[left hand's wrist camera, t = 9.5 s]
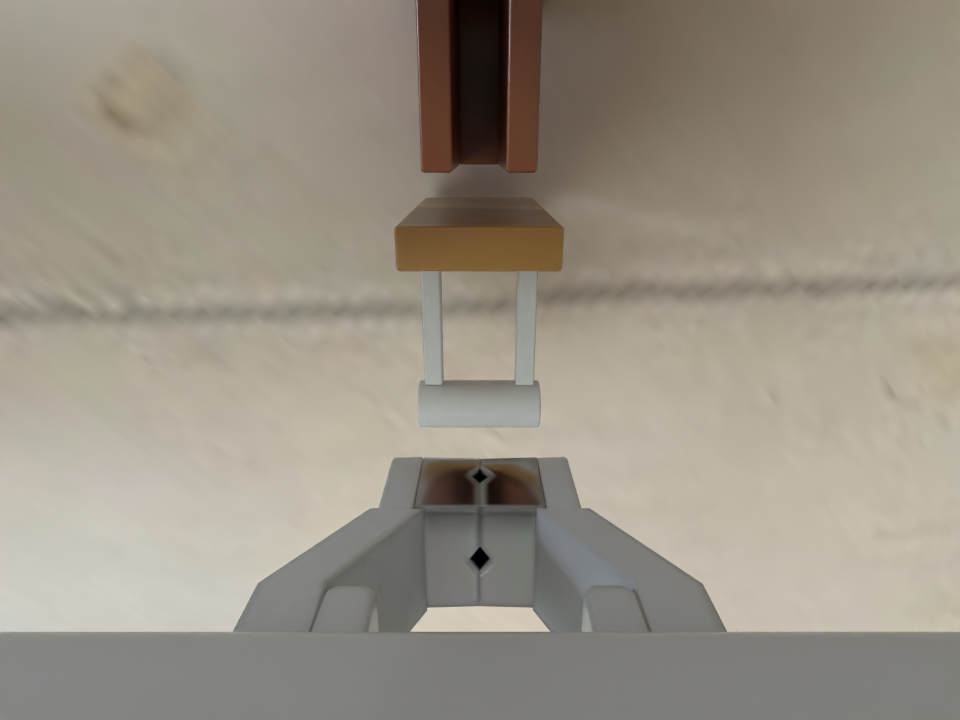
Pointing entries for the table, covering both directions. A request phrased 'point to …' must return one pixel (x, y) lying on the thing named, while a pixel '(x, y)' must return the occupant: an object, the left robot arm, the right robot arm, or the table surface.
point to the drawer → (479, 221)
